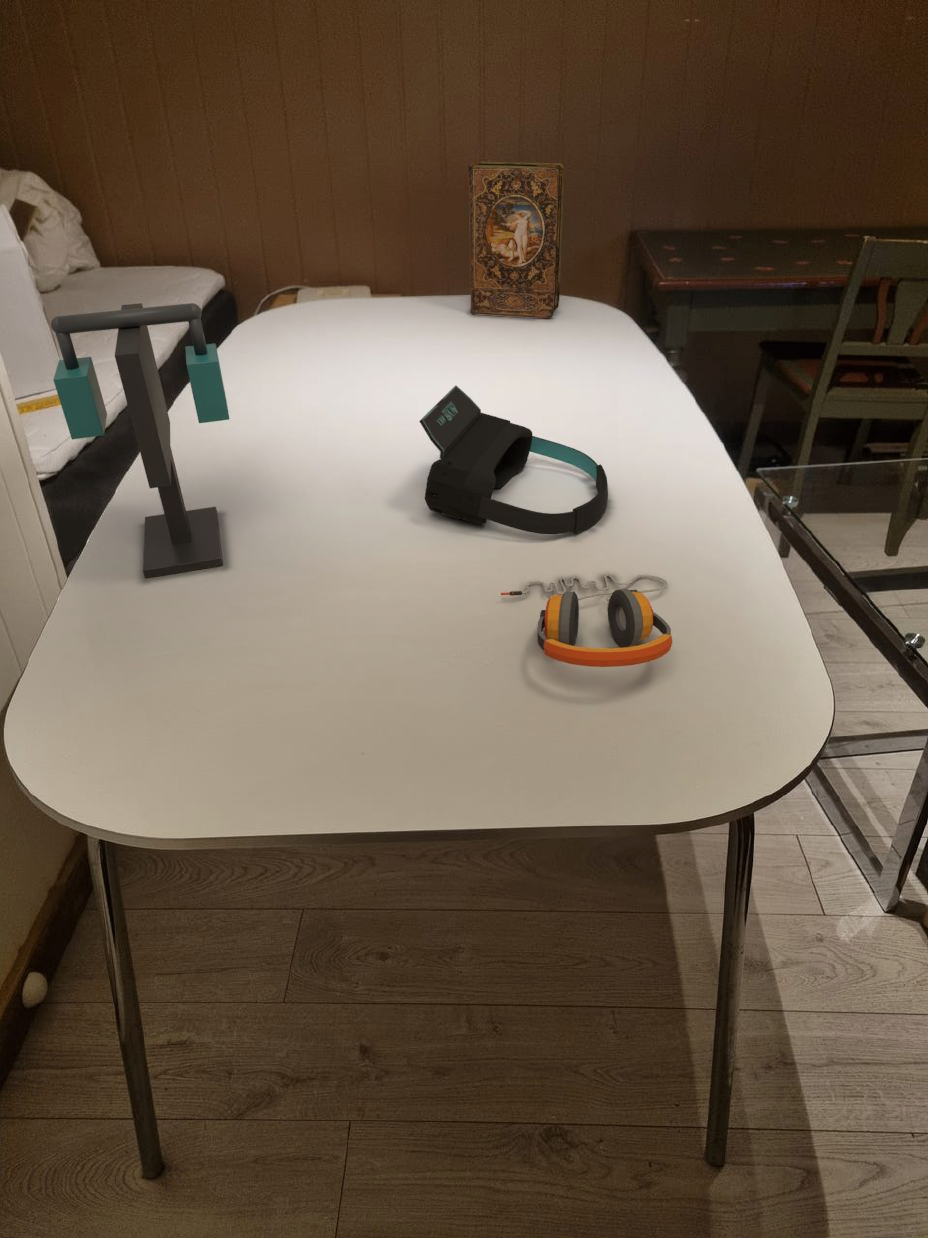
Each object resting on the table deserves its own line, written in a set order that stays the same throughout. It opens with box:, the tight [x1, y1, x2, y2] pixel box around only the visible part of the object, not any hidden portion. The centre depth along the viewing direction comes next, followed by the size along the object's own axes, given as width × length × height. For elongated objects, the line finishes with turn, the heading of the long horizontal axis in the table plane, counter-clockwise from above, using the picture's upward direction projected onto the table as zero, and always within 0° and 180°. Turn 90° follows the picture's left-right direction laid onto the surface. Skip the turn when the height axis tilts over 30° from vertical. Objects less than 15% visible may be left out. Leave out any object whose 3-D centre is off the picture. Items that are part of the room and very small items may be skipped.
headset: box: [50, 302, 230, 440], centre depth 83 cm, size 15×6×11 cm, turn 106°
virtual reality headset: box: [418, 385, 609, 536], centre depth 99 cm, size 19×22×10 cm
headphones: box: [500, 573, 673, 668], centre depth 79 cm, size 17×5×20 cm
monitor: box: [114, 302, 224, 579], centre depth 88 cm, size 8×16×24 cm, turn 16°
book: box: [467, 161, 565, 319], centre depth 155 cm, size 16×6×25 cm, turn 74°
